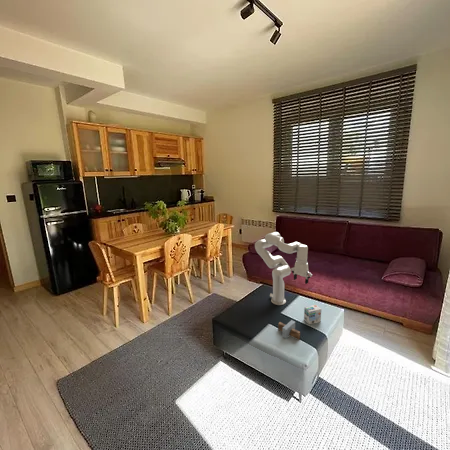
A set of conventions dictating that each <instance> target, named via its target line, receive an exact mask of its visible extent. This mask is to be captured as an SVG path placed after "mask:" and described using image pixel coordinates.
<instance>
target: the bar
mask: <svg viewBox="0 0 450 450" xmlns="http://www.w3.org/2000/svg"><path fill="white" fill-rule="evenodd" d="M291 329H295V330H296V321H295V320H293V319H291V320H290V321H289V322H287V324H285V326H284V327H283V329H282V331H281V334H282V335H281V336H282V338H284V339H288V338H289V337H290V335H289V332H290V331H291ZM288 336H289V337H288ZM287 337H288V338H287Z"/></svg>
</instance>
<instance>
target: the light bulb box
mask: <svg viewBox="0 0 450 450" xmlns="http://www.w3.org/2000/svg"><path fill="white" fill-rule="evenodd" d="M303 310H304V311H303V321H305V323H307V324H308V325H313V324H316V323H320V322H321V320H322V308H321V307H319V305H318V304H313V305H309V306H304V309H303Z"/></svg>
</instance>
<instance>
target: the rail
mask: <svg viewBox="0 0 450 450" xmlns="http://www.w3.org/2000/svg"><path fill="white" fill-rule="evenodd" d="M285 325H286V324H285V323H283V322H281V321H279V322H278V325H277V326H278V328H277V329H278V330H279V331H281V332H282V329H283V327H284V326H285ZM290 335H291V336H290ZM289 336H290V337H292V338H295V339H297V340H298V341H299V340H300V339H301V331H299V330H298V329H296V328H295V329H291V331H290V332H289Z"/></svg>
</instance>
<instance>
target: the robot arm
mask: <svg viewBox="0 0 450 450" xmlns="http://www.w3.org/2000/svg"><path fill="white" fill-rule="evenodd" d="M272 246H275V247H277V248H278V250H279V251H281V252H283V253H286V254H291V255H292V254H293V253H296V257H295V260H296V261H295V263H294V266H293V267H290V265H289V264H288V263H287V262H286V260H285V259H284V257H282V256H281V255H272V254H271V252H270V251H268V248H271V247H272ZM266 248H267V249H266ZM254 249H255V251H256V253H257V254H258V255H259V256H260V258H261V259H263V262H264V263H265V264H266V266H267V267H268V268H269V269H272V272H271V276H272V292H270V294H269V297H270V298H271V300H270V302H271V303H272V304H273V305H277V306H282V305H285V304H286V303H287V300H286V298H285V281H284V279H283V278H286V277H287V276H290V275H291V273H292V275H293V280H294V281H296V280H297V278H298V276H300V277H303V278H305V280H304V285H307V284H308V283H309V279H310V278H312V276H313V274H312V273H311V272H310V270H309V262H308V254H309V253H308V251H309V247H308V245H306V244H303V243H301V242H298V241H294V242H291V243H285V240H284V237H282V236H281V234H280V233H279V232H278V231H273V232H269V233H267V234H265V236H264V238H262V239H258V240H257V241H255V243H254Z"/></svg>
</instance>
